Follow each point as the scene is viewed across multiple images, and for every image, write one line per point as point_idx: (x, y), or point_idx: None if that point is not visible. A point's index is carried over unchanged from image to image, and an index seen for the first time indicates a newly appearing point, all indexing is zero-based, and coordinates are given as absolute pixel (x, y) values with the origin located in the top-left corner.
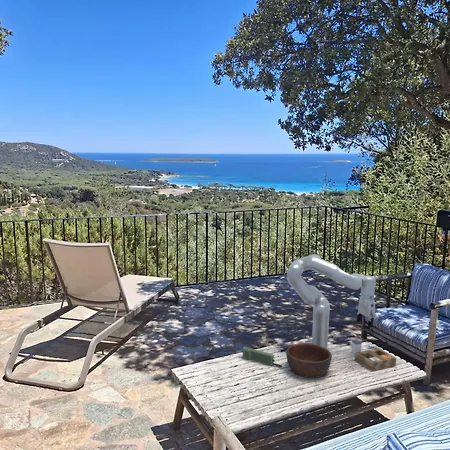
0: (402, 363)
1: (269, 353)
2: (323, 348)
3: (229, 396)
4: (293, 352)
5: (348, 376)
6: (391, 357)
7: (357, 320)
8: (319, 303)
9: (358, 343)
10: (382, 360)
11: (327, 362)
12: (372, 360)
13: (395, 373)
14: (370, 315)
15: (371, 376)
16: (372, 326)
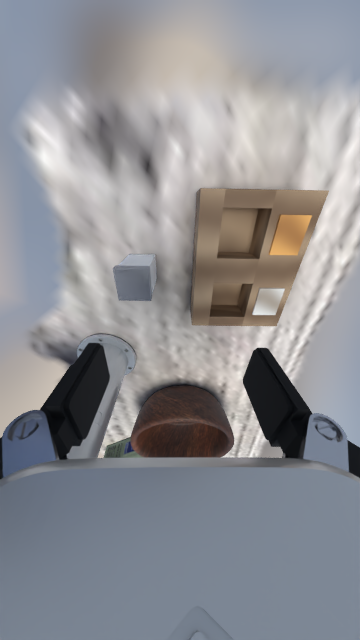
0: (313, 124)
1: (138, 457)
2: (175, 421)
3: None
4: (145, 435)
5: (244, 368)
6: (310, 219)
7: (104, 387)
8: None
9: (150, 286)
10: (292, 280)
11: (232, 432)
12: (267, 314)
13: (325, 249)
14: (250, 464)
15: (279, 328)
16: (268, 352)
